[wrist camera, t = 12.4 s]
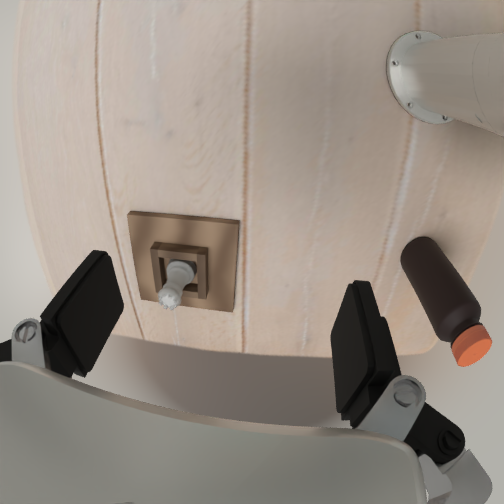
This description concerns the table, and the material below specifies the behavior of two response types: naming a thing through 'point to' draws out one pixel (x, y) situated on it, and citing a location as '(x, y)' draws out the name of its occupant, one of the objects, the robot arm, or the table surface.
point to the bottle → (446, 300)
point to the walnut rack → (186, 256)
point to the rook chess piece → (176, 282)
